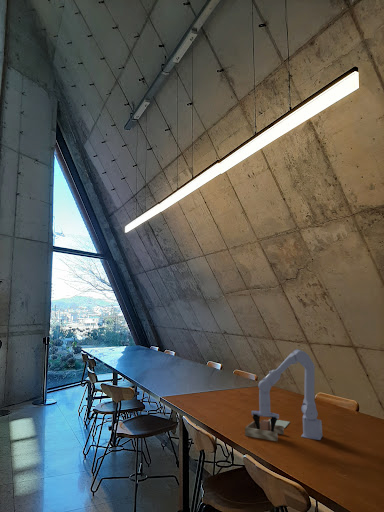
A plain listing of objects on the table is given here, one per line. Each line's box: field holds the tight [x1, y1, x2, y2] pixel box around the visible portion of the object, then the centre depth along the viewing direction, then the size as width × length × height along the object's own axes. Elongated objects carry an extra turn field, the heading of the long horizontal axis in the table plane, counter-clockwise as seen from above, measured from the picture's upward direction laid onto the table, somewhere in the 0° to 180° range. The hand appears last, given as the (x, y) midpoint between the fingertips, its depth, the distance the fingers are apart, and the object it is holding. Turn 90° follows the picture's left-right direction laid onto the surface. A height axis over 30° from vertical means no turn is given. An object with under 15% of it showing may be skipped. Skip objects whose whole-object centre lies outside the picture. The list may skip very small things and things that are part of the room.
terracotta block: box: [260, 419, 270, 431], centre depth 188 cm, size 4×4×7 cm
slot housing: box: [244, 420, 285, 442], centre depth 188 cm, size 17×13×4 cm
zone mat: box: [268, 418, 291, 429], centre depth 207 cm, size 12×12×1 cm
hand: (265, 431), depth 188 cm, fingers open, 7 cm apart
